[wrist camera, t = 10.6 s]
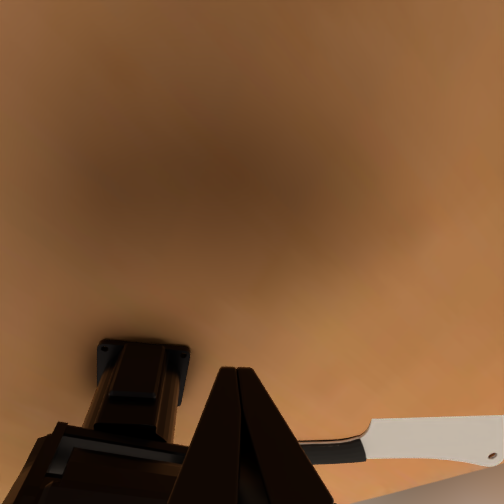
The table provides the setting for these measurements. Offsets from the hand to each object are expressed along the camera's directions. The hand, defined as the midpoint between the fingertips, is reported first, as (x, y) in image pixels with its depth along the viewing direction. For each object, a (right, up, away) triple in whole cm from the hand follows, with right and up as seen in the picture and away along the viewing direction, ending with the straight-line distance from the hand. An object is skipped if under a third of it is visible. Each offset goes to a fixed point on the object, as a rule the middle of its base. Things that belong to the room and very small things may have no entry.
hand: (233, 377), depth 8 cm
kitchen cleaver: (+15, -15, +25) cm, 33 cm away
